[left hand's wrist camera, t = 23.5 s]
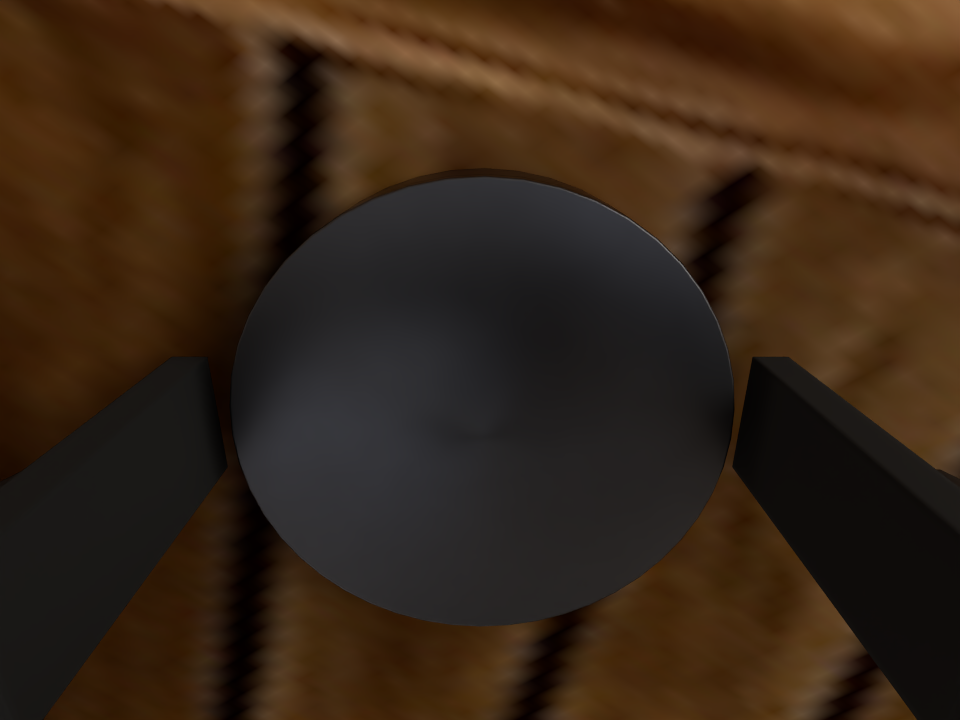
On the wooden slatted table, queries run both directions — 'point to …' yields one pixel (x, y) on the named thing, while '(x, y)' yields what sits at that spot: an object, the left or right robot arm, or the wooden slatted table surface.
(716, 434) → the lid
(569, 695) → the wooden slatted table surface
